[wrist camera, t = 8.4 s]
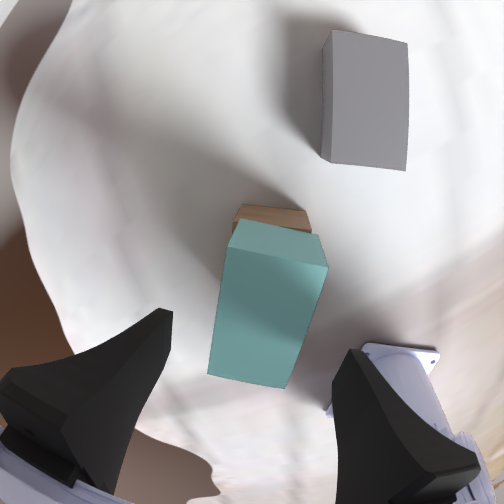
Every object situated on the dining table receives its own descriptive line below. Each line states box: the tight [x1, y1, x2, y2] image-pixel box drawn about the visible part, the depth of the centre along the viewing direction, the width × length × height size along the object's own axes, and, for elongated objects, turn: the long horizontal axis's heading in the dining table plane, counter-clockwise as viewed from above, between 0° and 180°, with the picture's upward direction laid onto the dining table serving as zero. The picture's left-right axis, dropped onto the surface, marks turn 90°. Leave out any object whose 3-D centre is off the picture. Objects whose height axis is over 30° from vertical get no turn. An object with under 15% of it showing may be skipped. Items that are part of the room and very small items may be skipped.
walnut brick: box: [232, 204, 312, 235], centre depth 18 cm, size 7×4×4 cm, turn 176°
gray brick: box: [321, 29, 409, 171], centre depth 14 cm, size 7×4×4 cm, turn 179°
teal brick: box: [207, 218, 329, 389], centre depth 15 cm, size 7×4×4 cm, turn 169°
